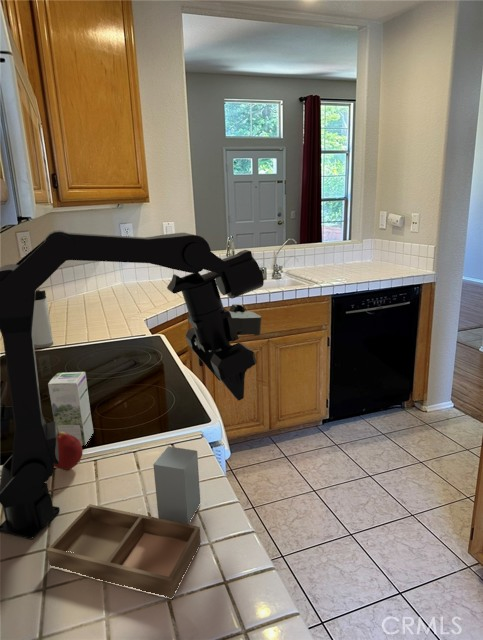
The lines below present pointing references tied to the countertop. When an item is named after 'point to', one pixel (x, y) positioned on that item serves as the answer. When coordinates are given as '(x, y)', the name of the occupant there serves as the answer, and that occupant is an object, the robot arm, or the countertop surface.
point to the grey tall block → (177, 484)
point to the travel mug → (41, 322)
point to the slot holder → (127, 549)
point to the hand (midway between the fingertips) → (230, 388)
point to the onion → (68, 451)
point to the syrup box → (71, 405)
